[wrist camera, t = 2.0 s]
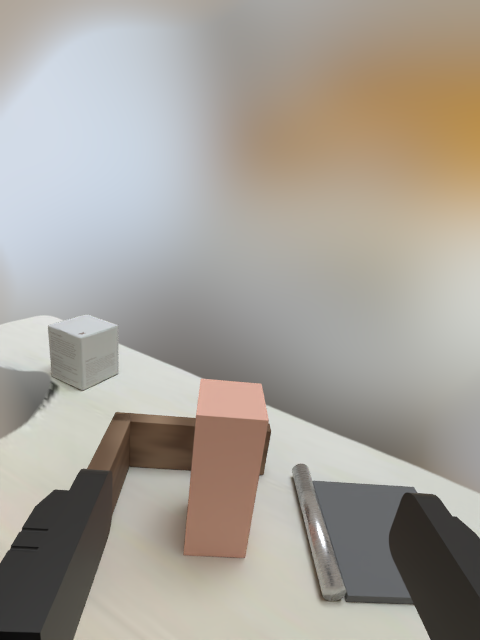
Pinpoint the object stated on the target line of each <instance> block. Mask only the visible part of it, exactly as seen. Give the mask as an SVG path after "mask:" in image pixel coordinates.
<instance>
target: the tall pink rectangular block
mask: <svg viewBox="0 0 480 640" xmlns="http://www.w3.org/2000/svg"><path fill="white" fill-rule="evenodd" d="M268 421H269V420H268V415H267V410H266V405H265V400H264V394H263V390H262V385H261V384H258V383H246V382H234V381H222V380H210V379H201V382H200V390H199V398H198V405H197V413H196V423H195V434H194V445H193V456H192V467H191V478H190V489H189V500H188V511H187V522H186V534H185V545H184V555H192V556H215V557H238V558H245V555H246V549H247V543H248V537H249V532H250V526H251V520H252V514H253V508H254V503H255V497H256V491H257V485H258V479H259V474H260V468H261V462H262V456H263V450H264V445H265V439H266V433H267V427H268Z"/></svg>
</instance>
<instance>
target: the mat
mask: <svg viewBox="0 0 480 640" xmlns="http://www.w3.org/2000/svg"><path fill="white" fill-rule="evenodd" d="M312 482H313V485H314V488H315V492H316V495H317V498H318V501H319V505H320V508H321V511H322V514H323V518H324V521H325V524H326V527H327V530H328V534H329V537H330V540H331V543H332V547H333V550H334V553H335V556H336V560H337V563H338V566H339V569H340V573H341V576H342V579H343V582H344V586H345V589H346V594H345V599H346V602H374V603H403V604H414V603H413V601H412V599H411V597H410V594H409V592H408V590H407V588H406V586H405V584H404V582H403V580H402V577H401V575H400V573H399V571H398V569H397V567H396V565H395V563H394V560H393V558H392V555H391V552H390V548H389V532H390V529H391V526H392V524H393V521H394V518H395V515H396V512H397V509H398V507H399V504H400V501H401V498H402V496H403V495H404V494H405V493H417V492H416V490H415V488H414V487H404V486H388V485H372V484H356V483H340V482H324V481H312Z"/></svg>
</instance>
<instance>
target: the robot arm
mask: <svg viewBox="0 0 480 640" xmlns="http://www.w3.org/2000/svg"><path fill="white" fill-rule="evenodd" d="M112 482H113V475H112V471H107V470H92V469H81V470H80V472H79V473H78V475H77V477H76V478H75V480H74V482H73V484H72V486H71V488H70V490H69V491H67V490H54V491H53V492H51V493H50V494H49V495H48V496H47V497H46V498H45V499H43V500H42V501H41V502H40V503H39V504H38V505H37V506H35V508H34V509H33V511H32V513H31V514H30V516H29V518H28V519H27V521H26V522H25V524H24V526H23V527H22V531H21V532H19V534H18V535H17V537H16V539H15V540H14V542H13V544H12V545H11V549H10V551H9V550H8V552H7V553H6V555H5V557H4V558H3V560H2V561H1V563H0V640H73V638H74V636H75V633H76V630H77V627H78V624H79V621H80V618H81V615H82V612H83V609H84V606H85V604H86V601H87V598H88V595H89V592H90V589H91V586H92V583H93V580H94V577H95V574H96V571H97V569H98V566H99V563H100V560H101V557H102V554H103V551H104V548H105V545H106V542H107V539H108V535H109V531H110V526H111V520H112ZM389 548H390V552H391V555H392V558H393V560H394V563H395V565H396V567H397V569H398V571H399V573H400V575H401V577H402V580H403V582H404V584H405V586H406V588H407V590H408V592H409V594H410V597H411V599H412V601H413V603H414V605H415V607H416V609H417V611H418V614H419V616H420V618H421V620H422V622H423V624H424V626H425V628H426V631H427V633H428V635H429V637H430V639H431V640H480V538H479V537H478V536H477V534H475V533H474V532H473V531H472V530H471V529H470V528H469V527H467V526H466V525H465V524H464V523H463V522H462V521H461V520H460V519H458V518H457V517H453V516H452V515H451V514H450V513H449V511H448V510H447V508H446V507H445V506H444V504H443V503H442V501H441V500H440V499H439V498H438V497H437V496H436V495H433V494H422V493H405V494H404V495H403V496H402V498H401V501H400V504H399V507H398V509H397V512H396V515H395V518H394V521H393V524H392V526H391V529H390V532H389Z"/></svg>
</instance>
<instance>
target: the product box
mask: <svg viewBox="0 0 480 640" xmlns="http://www.w3.org/2000/svg"><path fill="white" fill-rule="evenodd" d="M48 333H49V346H50V358H51V371H52V377H54V378H57V379H59V380H61V381H63V382H65V383H68V384H70V385H72V386H74V387H76V388H78V389H80V390H85V389H87V388H89V387H91V386H93V385H95V384H97V383H99V382H101V381H103V380H105V379H108V378H110V377H112V376H114V375H116V374H118V325H116V324H113V323H110V322H107V321H104V320H101V319H99V318H96V317H93V316H90V315H82V316H79V317H75V318H72V319H68V320H65V321H61V322H58V323H54V324H51V325H48Z"/></svg>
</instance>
